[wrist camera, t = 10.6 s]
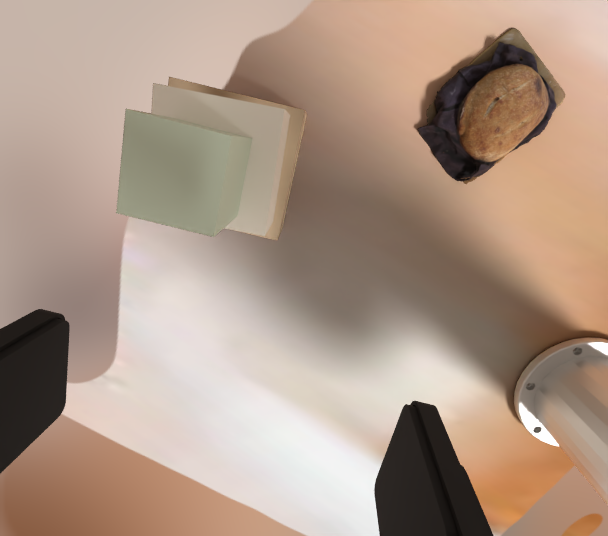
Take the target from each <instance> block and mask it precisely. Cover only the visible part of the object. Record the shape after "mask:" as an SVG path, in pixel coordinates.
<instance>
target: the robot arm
mask: <svg viewBox="0 0 608 536" xmlns="http://www.w3.org/2000/svg"><path fill="white" fill-rule="evenodd" d="M68 346H69V323H68V322H67V321H65V318H64V316H63V315H62V314H59V313H54V312H51V311H47V310H43V309H38V310H35V311H34V312H32V313H30V314H28V315H26V316H24V317H22V318H20V319H18V320H17V321H15V322H13V323H11V324H9V325H7V326H5V327H3V328H1V329H0V473H1V472H2V471H3V470H4V469H5V468H6V467H7V466H9V465H10V464H11V463H12V462H13V461H14V460H15V459H16V458H17V457H18V456H19V455H20V454H21V453H22V452H23V451H24V450H25V449H26V448H27V447H28V446H29V445H30V444H31V443H32V442H33V441H34V440H35V439H36V438H37V437H39V435H41V434H42V433H43V432H44V431H45V430H46V429H47V428H48V427H49V426H50V425H51V424H52V423H53V422H54V421H55V420H56V419H57V418H58V417H59V416H60V415H61V413H62V411H63V409H64V407H65V403H66V385H67V366H68ZM514 405H515V411H516V413H517V415H518V418H519V420H520V421H521V422H522V424H523V425H524V427H525V428H526V429H527V430H528V431H529V432H530V433H531V434H532V435H533V436H534V437H536V438H538V439H539V440H541V441H543V442H545V443H548V444H550V445H555V446H560V447H561V449H562V450H563V451H564V452H565V454H566V455H567V456H568V457H569V459H570V460H571V461H572V462H573V463H574V465H575V466H576V467H577V468H578V470H579V471H580V472H581V473H582V474H583V476H584V477H585V478H586V480H587V481H588V482H589V483H590V485H591V486H592V487H593V488H594V490H595V491H596V492H597V493H598V495H599V496H600V497H601V498H602V500H603V501H604V502H605V503H606V504H607V506H608V340H607V339H602V338H589V337H586V338H578V339H572V340H569V341H565V342H562V343H559V344H557V345H555V346H553V347H551V348H549V349H547V350H546V351H544V352H543V353H541V354H540V355H538V356H537V357H536V358H535V359H534V360H533V361H532V362H530V363H529V365H528V366H527V367H526V369H525V370H524V371H523V372H522V374H521V376H520V378H519V380H518V382H517V385H516V388H515V392H514ZM375 501H376V509H377V516H378V524H379V532H380V536H493V534H492V531H491V529H490V526H489V524H488V522H487V519H486V517H485V515H484V512H483V510H482V508H481V505H480V503H479V501H478V498H477V496H476V494H475V491H474V489H473V487H472V484H471V482H470V479H469V477H468V475H467V472H466V471H465V469H464V467H463V466H461V465H460V463H459V461H458V458H457V456H456V453H455V451H454V449H453V446H452V444H451V441H450V439H449V437H448V434H447V432H446V429H445V427H444V424H443V422H442V420H441V417H440V415H439V412H438V410H437V408H436V406H434V405H430V404H426V403H422V402H418V401H413V402H412V403H411V405H407V404H406V405H405V406H404V407H403V409H402V412H401V414H400V417H399V420H398V422H397V425H396V428H395V430H394V433H393V436H392V438H391V441H390V444H389V446H388V449H387V452H386V454H385V457H384V460H383V462H382V465H381V468H380V470H379V473H378V476H377V478H376V482H375Z"/></svg>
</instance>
